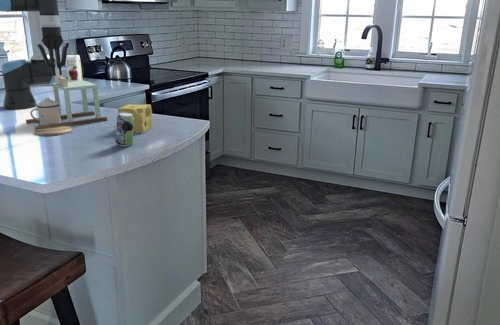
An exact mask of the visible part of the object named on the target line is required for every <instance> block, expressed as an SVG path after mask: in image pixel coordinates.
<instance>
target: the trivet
mask: <svg viewBox="0 0 500 325" xmlns="http://www.w3.org/2000/svg"><path fill="white" fill-rule="evenodd" d="M72 131H73V129H72V126H54V127H47V128H40V129H37V130H36V129H35V130H34V133H35V135H37V136H40V137H55V136H61V135H66V134H70V133H71V132H72ZM65 133H66V134H65Z"/></svg>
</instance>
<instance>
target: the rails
mask: <svg viewBox="0 0 500 325" xmlns="http://www.w3.org/2000/svg"><path fill="white" fill-rule="evenodd" d="M88 116H96V113H95V111H93V110H91V111H90V110H88V112H87V113H85V112H84V111H82V112H75V113H72V119H74V118H73V117H75V118H81V117H88ZM60 117H61V120H65V118H67V113H66V114H61V116H60ZM106 121H107V122H108V117H107V116H101V118H96V117H94V118H93V117H92V118H84V119H80V120H79V119H77V120H73V122H68V121H64V122H61V123H56V124H48V125H37V126H36V125H35V126H34V127H35V131H36V130H37V129H40V128H47V127H54V126H68V127H73V126H79V125H86V124H94V123H100V122H106ZM25 123H26V125H30V124H36V123H40V121H39V120H35V119H33V118H30V119H29V118H28V119H25Z"/></svg>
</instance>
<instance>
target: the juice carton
mask: <svg viewBox="0 0 500 325" xmlns="http://www.w3.org/2000/svg"><path fill="white" fill-rule="evenodd" d="M81 62H82V61H81V57H80V54H73V55H72V54H71V55H70V54H69V55H66V63H65V66H66V74H67V82H73V81H84V79H83V71H82V63H81Z"/></svg>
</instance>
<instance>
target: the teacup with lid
mask: <svg viewBox="0 0 500 325" xmlns="http://www.w3.org/2000/svg"><path fill="white" fill-rule="evenodd" d="M59 105H60V106H61V103H60V104H59V103H58V102H55V100H53V99H51V98H50V97H45V98H44V100H42V101H41V102H38V103H36V107H37V108H32V109H31V110H30V113H29V114H30V116H31V119H35V120H39V121H40V122H39V126H41V125H48V124H56V123H62V119H61V117H60V109H59ZM34 111H37V112H38V118H37V117H35V116H34V115H33V112H34Z"/></svg>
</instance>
